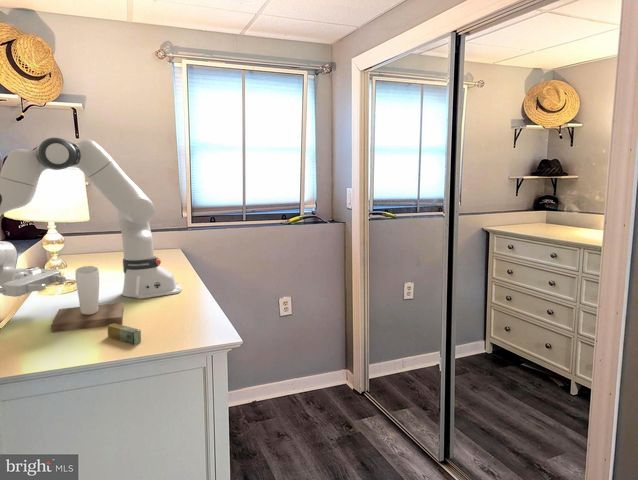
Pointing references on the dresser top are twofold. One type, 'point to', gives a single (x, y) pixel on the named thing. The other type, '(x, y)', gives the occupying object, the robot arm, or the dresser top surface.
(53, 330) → the walnut board
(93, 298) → the drinking glass
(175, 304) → the dresser top surface
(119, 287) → the dresser top surface
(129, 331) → the medication box
